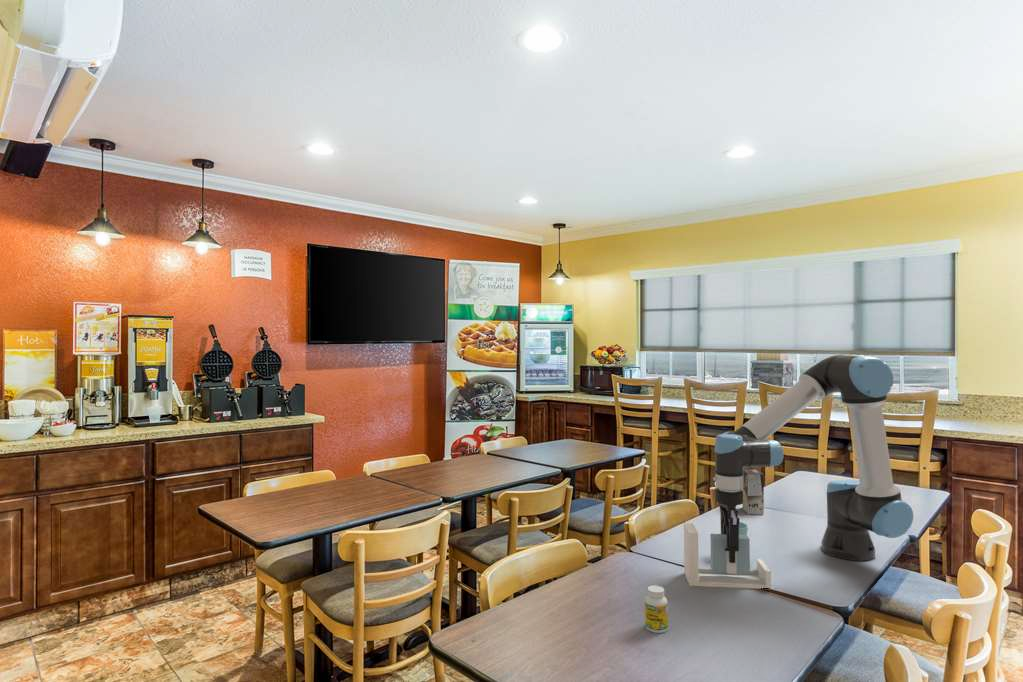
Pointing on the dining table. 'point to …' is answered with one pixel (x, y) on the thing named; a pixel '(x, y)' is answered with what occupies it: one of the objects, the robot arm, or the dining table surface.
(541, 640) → the dining table surface
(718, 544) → the door panel
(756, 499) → the coffee box
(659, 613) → the supplement bottle
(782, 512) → the dining table surface
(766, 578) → the track board
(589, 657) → the dining table surface
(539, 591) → the dining table surface
